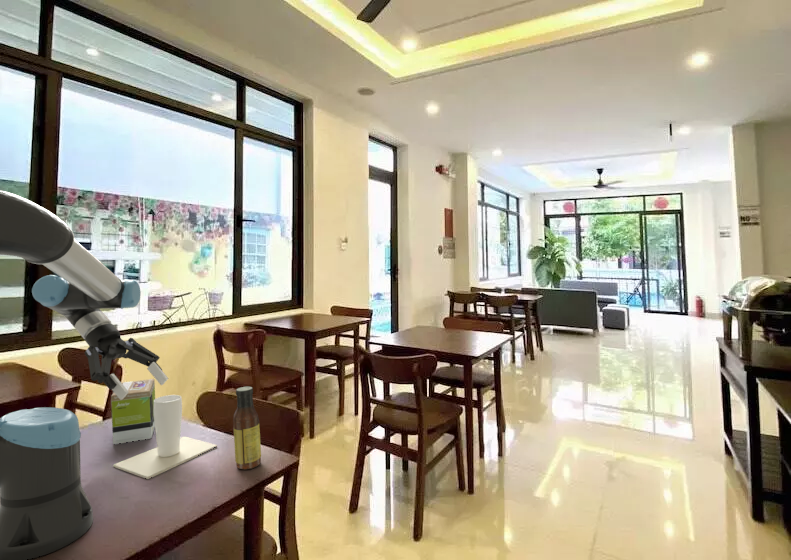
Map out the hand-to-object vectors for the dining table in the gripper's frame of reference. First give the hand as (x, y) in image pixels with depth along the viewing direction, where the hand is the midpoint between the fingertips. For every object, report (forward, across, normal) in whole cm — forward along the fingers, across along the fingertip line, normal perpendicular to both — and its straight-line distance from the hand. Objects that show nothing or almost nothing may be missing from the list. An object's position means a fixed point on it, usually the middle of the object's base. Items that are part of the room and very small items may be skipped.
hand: (146, 388), depth 113 cm
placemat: (+17, 0, -8) cm, 19 cm away
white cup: (+17, 0, -8) cm, 19 cm away
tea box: (+2, -12, -24) cm, 27 cm away
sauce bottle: (+34, 0, +8) cm, 35 cm away
